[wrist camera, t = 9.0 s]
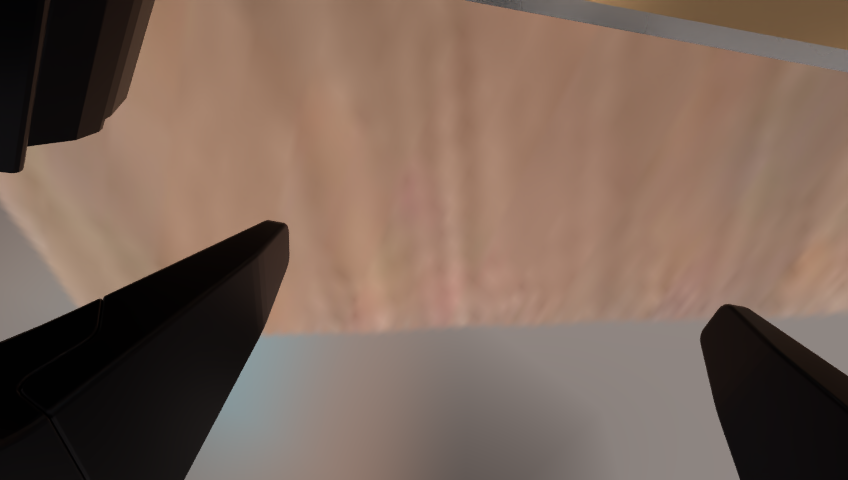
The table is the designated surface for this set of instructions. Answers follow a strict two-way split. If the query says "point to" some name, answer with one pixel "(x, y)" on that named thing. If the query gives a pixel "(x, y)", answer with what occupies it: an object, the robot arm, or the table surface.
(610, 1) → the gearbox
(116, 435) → the robot arm
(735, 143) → the table surface
